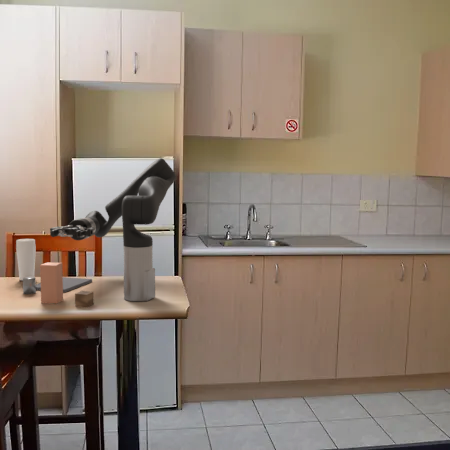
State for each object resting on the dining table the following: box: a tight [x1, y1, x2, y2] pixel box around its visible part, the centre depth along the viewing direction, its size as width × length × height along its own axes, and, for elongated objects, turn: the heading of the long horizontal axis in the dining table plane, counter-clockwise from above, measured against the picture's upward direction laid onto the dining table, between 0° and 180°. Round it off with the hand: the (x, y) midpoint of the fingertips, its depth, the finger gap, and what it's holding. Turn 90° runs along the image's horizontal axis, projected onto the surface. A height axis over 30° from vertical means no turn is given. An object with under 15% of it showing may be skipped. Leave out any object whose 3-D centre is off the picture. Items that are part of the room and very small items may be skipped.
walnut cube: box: [74, 290, 95, 308], centre depth 168 cm, size 4×4×4 cm
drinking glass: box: [15, 238, 37, 282], centre depth 204 cm, size 7×7×15 cm
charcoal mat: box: [36, 276, 93, 293], centre depth 195 cm, size 14×18×1 cm
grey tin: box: [22, 276, 37, 295], centre depth 183 cm, size 4×4×5 cm
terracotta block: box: [39, 261, 64, 304], centre depth 171 cm, size 5×5×12 cm
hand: (64, 234), depth 181 cm, fingers open, 8 cm apart
